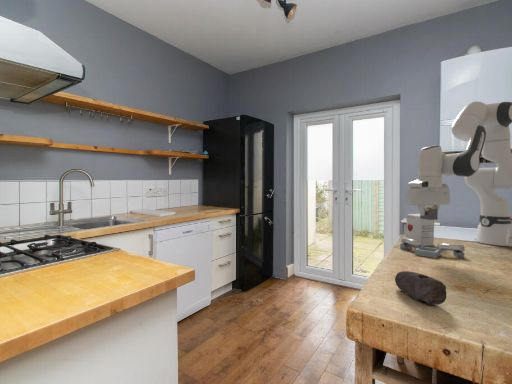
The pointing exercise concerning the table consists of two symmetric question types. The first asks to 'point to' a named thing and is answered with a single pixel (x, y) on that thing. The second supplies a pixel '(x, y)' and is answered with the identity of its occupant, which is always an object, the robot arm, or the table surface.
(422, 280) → the perforated stone tool
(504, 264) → the table surface
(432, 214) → the block
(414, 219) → the supplement box
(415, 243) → the shaft
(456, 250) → the shaft
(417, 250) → the housing
